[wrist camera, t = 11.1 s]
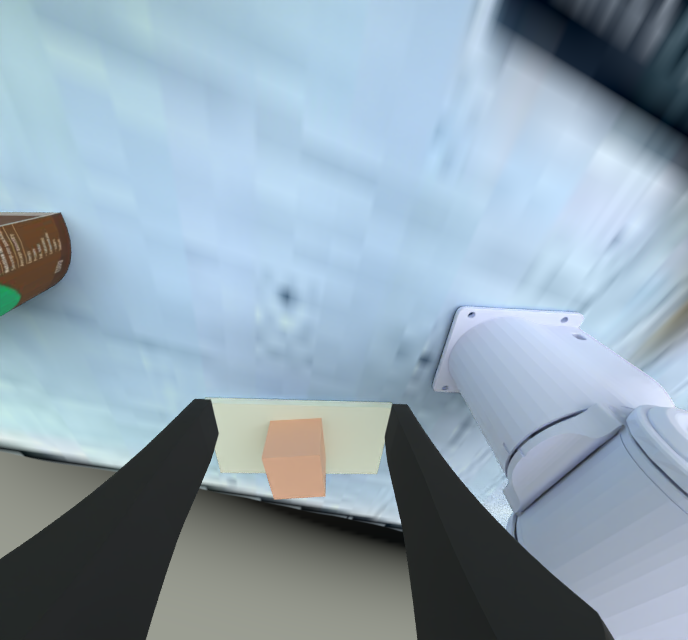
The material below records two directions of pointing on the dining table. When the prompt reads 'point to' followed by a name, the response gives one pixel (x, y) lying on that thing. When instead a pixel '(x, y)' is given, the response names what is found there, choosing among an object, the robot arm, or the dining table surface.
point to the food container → (31, 255)
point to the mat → (337, 418)
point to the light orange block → (295, 458)
